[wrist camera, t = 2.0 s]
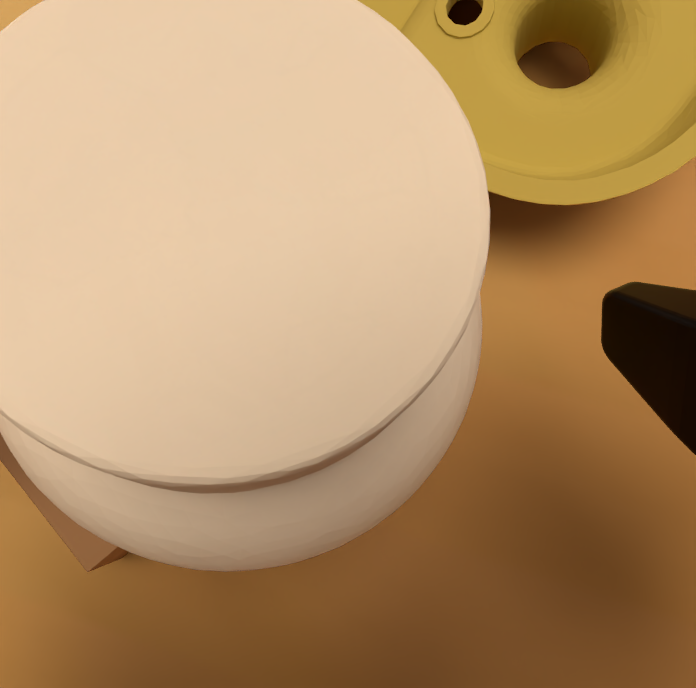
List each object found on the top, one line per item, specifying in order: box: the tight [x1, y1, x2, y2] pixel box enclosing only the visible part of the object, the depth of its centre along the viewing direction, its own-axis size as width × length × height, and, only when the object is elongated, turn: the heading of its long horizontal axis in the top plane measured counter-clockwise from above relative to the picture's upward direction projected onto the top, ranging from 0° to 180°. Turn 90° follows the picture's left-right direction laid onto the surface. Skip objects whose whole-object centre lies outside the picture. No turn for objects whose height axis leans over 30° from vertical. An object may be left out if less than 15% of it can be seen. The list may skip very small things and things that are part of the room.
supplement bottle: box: [0, 0, 490, 572], centre depth 11 cm, size 7×7×13 cm
